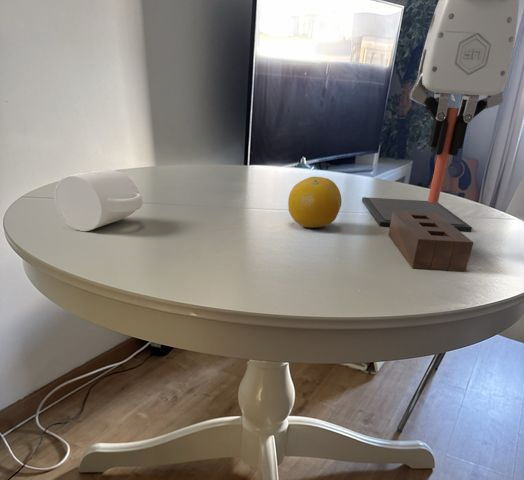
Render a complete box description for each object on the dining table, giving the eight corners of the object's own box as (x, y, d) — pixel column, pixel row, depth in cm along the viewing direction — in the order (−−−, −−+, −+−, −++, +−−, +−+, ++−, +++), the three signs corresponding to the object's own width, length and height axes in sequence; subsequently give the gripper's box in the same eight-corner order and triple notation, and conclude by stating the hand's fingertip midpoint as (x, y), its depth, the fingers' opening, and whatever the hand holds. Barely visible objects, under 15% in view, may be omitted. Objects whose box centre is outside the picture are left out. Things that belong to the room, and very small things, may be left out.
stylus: (436, 201, 69) (457, 108, 63) (439, 203, 67) (460, 108, 62) (426, 200, 69) (446, 107, 63) (429, 202, 67) (449, 107, 62)
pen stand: (431, 237, 79) (437, 213, 77) (465, 271, 64) (473, 242, 62) (388, 235, 79) (392, 210, 77) (412, 268, 64) (418, 239, 62)
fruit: (287, 231, 78) (291, 180, 74) (285, 219, 85) (289, 172, 81) (341, 234, 78) (348, 183, 74) (335, 222, 85) (340, 174, 81)
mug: (54, 227, 73) (45, 172, 69) (90, 214, 81) (84, 164, 77) (124, 237, 70) (118, 180, 66) (154, 223, 78) (151, 171, 74)
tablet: (436, 205, 103) (436, 201, 103) (471, 231, 84) (472, 226, 83) (361, 200, 103) (362, 196, 103) (379, 226, 84) (380, 221, 83)
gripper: (421, -25, 53) (391, 153, 62) (563, -17, 53) (512, 161, 62) (406, -12, 60) (381, 147, 68) (532, -5, 59) (490, 154, 68)
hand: (443, 153), depth 65 cm, fingers closed on stylus, 1 cm apart
